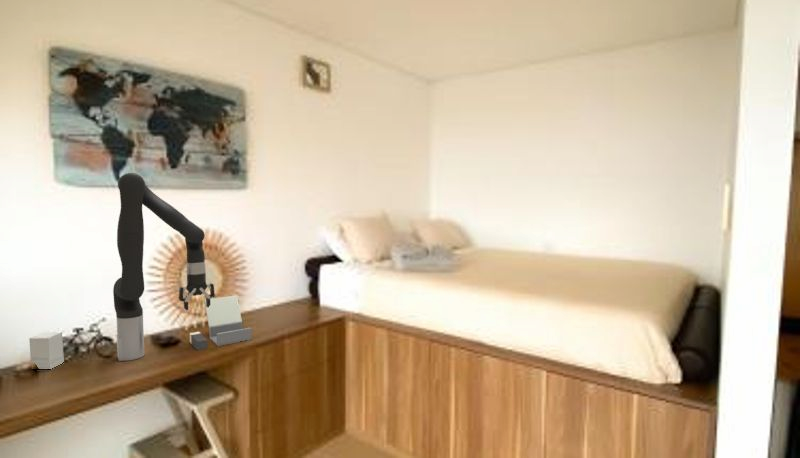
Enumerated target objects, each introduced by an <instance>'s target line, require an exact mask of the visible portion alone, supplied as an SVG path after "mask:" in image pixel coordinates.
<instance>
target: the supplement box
mask: <svg viewBox="0 0 800 458" xmlns="http://www.w3.org/2000/svg"><path fill="white" fill-rule="evenodd" d="M28 339H29V352H30V353H29V354H30V364H31V363H35V364H36V365H37V367H38V368H39V369H51V370H53V369H55V368H54V367H56V366H58V365H60V364H62V363H63V362H64V363H65V358H64V356H65V355H64V343H63V342H64V341H63V332H59V331H58V332H53V331H51V332H49V331H47V332H45V331H43V332H42V333H39V334H37V335H34V336H31V337H29V338H28ZM64 363H63V364H64ZM63 364H62V365H63ZM60 366H61V365H60ZM58 367H59V366H58ZM52 368H53V369H52ZM56 368H57V367H56Z"/></svg>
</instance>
